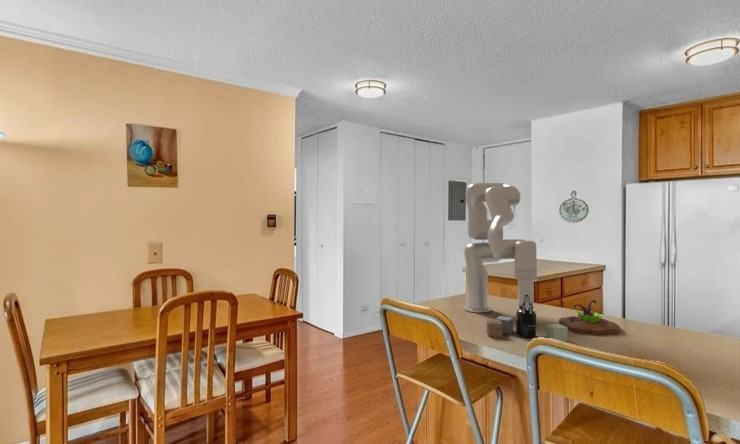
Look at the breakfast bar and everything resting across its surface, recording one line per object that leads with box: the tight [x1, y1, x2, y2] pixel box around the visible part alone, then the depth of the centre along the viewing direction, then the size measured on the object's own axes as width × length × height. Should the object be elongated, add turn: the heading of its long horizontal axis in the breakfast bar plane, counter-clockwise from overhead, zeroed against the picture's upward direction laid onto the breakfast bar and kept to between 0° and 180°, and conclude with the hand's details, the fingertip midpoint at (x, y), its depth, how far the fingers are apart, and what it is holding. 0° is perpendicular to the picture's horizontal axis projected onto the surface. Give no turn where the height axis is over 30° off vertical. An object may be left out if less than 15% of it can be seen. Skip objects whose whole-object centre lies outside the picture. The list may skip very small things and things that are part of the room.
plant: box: [558, 299, 621, 337], centre depth 152 cm, size 20×20×11 cm
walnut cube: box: [486, 319, 504, 338], centre depth 145 cm, size 5×5×5 cm
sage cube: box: [545, 323, 569, 343], centre depth 138 cm, size 5×5×5 cm
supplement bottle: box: [515, 305, 537, 339], centre depth 143 cm, size 7×7×12 cm
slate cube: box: [495, 315, 514, 335], centre depth 149 cm, size 5×5×5 cm
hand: (526, 321), depth 142 cm, fingers open, 9 cm apart
